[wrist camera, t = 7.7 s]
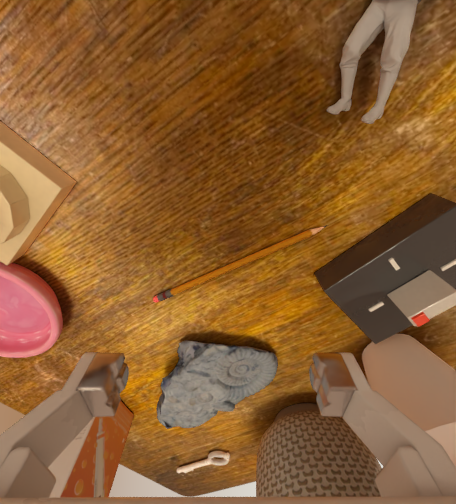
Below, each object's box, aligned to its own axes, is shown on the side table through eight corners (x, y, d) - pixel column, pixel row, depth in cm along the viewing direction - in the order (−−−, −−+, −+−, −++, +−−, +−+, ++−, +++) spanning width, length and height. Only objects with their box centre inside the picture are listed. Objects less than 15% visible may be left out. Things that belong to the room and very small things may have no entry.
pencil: (157, 299, 27) (155, 304, 26) (153, 295, 26) (151, 300, 26) (327, 226, 22) (330, 230, 22) (325, 220, 22) (328, 223, 21)
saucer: (-82, 253, 24) (-123, 271, 21) (38, 237, 23) (12, 254, 20) (-5, 340, 30) (-29, 363, 27) (92, 330, 29) (78, 353, 26)
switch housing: (430, 192, 21) (461, 204, 18) (469, 263, 24) (500, 282, 22) (313, 272, 25) (324, 292, 22) (361, 323, 29) (376, 346, 26)
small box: (135, 414, 38) (96, 542, 27) (98, 420, 39) (45, 546, 27) (109, 384, 34) (51, 518, 23) (69, 391, 35) (-7, 524, 24)
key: (235, 456, 45) (222, 447, 43) (235, 462, 44) (222, 453, 42) (184, 471, 48) (170, 463, 46) (183, 477, 47) (169, 469, 45)
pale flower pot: (324, 345, 30) (386, 493, 18) (427, 300, 27) (586, 448, 15) (360, 391, 35) (428, 533, 23) (451, 359, 32) (585, 505, 20)
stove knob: (429, 269, 21) (460, 293, 18) (436, 278, 22) (467, 303, 19) (386, 294, 23) (409, 320, 20) (393, 302, 23) (416, 329, 20)
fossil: (288, 347, 31) (296, 377, 27) (225, 417, 38) (225, 447, 35) (194, 313, 28) (190, 342, 24) (146, 396, 35) (138, 426, 32)
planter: (373, 424, 40) (453, 591, 26) (280, 452, 44) (305, 606, 31) (331, 369, 33) (410, 558, 19) (226, 410, 37) (226, 585, 24)
